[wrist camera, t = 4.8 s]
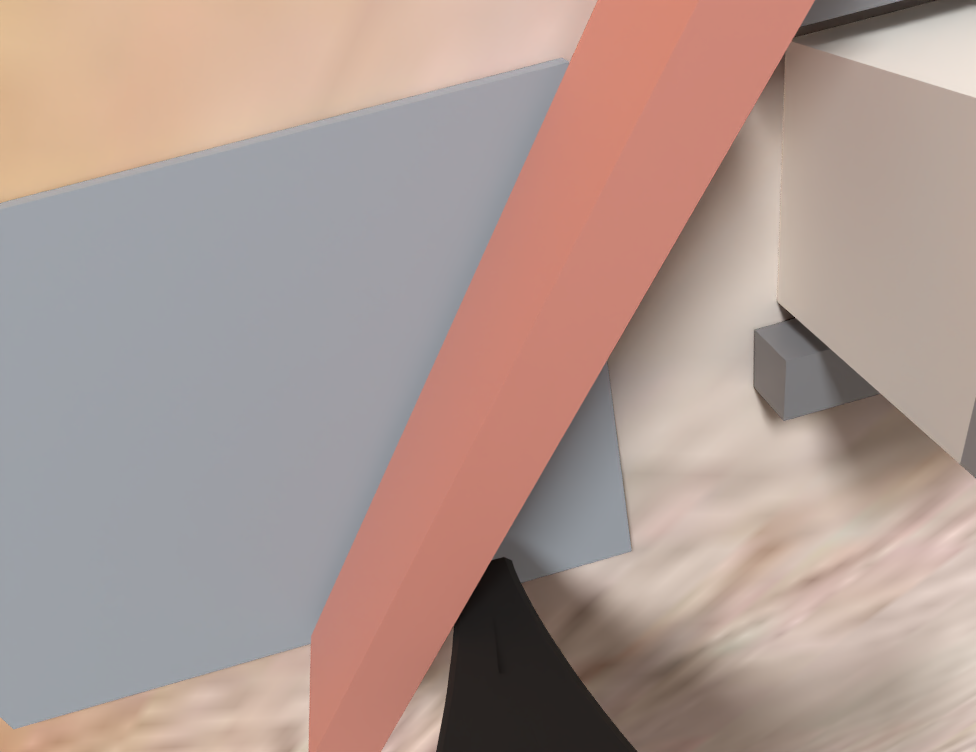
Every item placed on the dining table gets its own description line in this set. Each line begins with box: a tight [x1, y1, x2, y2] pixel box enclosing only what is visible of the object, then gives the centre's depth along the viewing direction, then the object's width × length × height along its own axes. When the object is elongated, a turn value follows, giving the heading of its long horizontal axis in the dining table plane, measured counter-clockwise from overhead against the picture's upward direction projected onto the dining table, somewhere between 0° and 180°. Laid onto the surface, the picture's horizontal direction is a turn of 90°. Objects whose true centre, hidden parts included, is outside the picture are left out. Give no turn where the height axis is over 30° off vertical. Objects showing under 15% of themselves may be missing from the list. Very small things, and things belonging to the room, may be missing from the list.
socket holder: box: [754, 0, 902, 421], centre depth 10 cm, size 6×7×1 cm
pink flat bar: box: [309, 0, 815, 752], centre depth 10 cm, size 1×14×3 cm, turn 156°
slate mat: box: [0, 58, 632, 729], centre depth 11 cm, size 12×9×1 cm
